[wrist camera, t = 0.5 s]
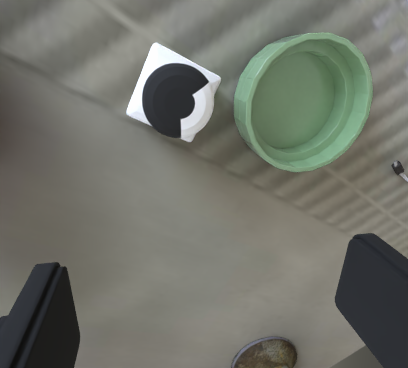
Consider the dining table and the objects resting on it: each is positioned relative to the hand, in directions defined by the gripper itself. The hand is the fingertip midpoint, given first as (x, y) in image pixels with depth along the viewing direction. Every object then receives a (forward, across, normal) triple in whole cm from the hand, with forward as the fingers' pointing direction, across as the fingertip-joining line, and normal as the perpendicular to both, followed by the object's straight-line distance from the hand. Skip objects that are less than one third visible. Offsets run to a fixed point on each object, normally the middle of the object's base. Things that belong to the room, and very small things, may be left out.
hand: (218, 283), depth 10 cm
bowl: (+29, -16, -2) cm, 33 cm away
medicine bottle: (+29, -1, -4) cm, 29 cm away
